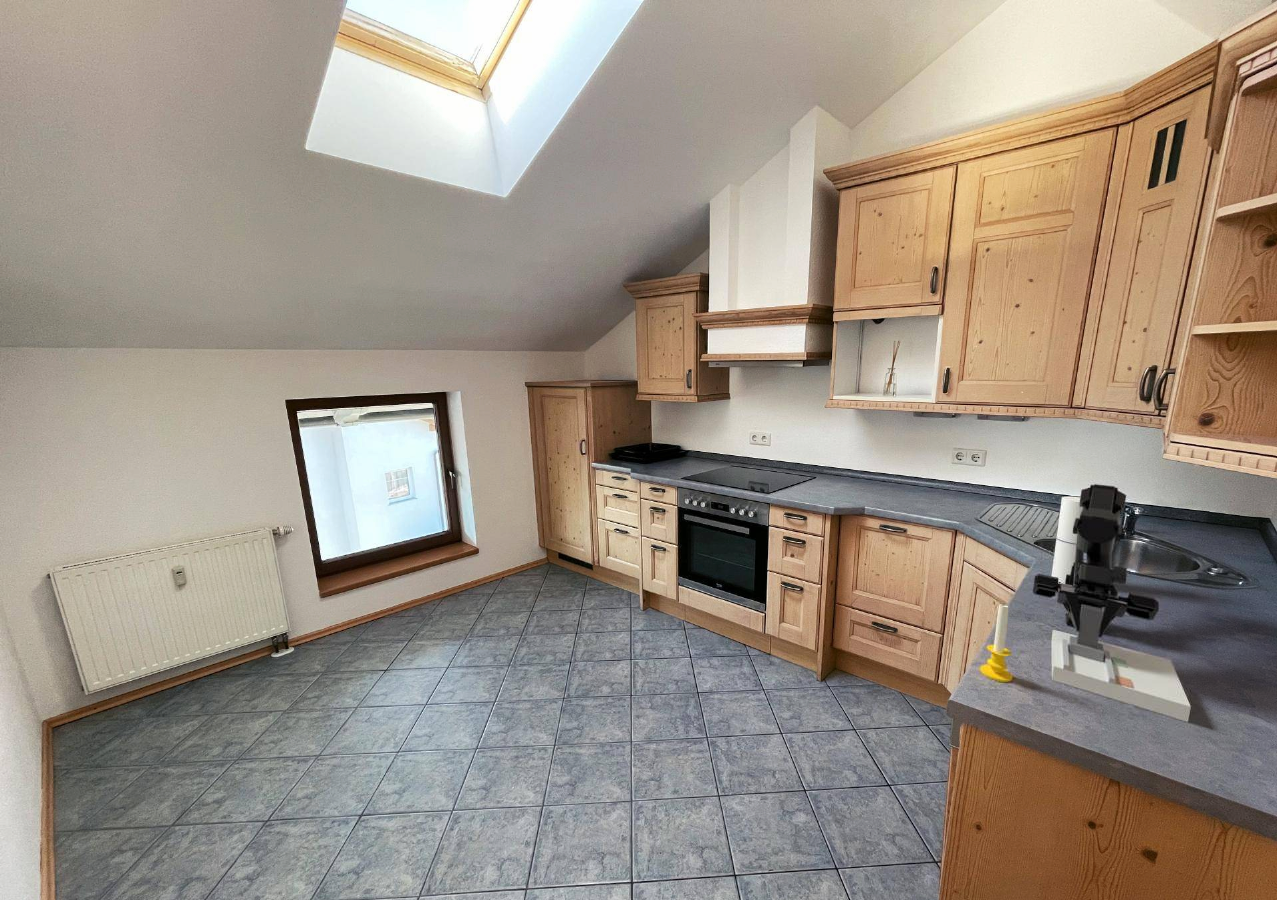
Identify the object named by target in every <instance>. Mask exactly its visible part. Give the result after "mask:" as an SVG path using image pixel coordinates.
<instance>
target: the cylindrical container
mask: <svg viewBox="0 0 1277 900" xmlns="http://www.w3.org/2000/svg"><path fill="white" fill-rule="evenodd" d="M1080 497H1081V496H1080ZM1080 497H1079V496H1062V497H1061V502H1060V511H1059V518H1058V523H1057V524H1058V525H1057V531H1056V539H1055V540H1056V541H1055V548H1054V555H1053V561H1052V571H1051V576H1052V577H1057V578H1058V582H1061V583H1063V584H1065V580H1066V575H1067V574H1068V575H1070V574H1071V569H1072V566H1073V564H1074V562H1075V555H1076V545H1077V534H1073V526H1074V522H1075V519H1076V518H1080V514H1081V511H1082V509H1083V507H1080Z"/></svg>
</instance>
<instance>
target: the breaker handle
mask: <svg viewBox="0 0 1277 900" xmlns="http://www.w3.org/2000/svg"><path fill="white" fill-rule="evenodd" d="M1102 614H1103V610H1102V609H1101V608H1096V607H1092V606H1087V605H1083V604H1082V605H1081V612H1080V629H1079V632H1077V633H1076V636H1077V638H1076V637H1072V636H1070V639H1069V653H1072V654H1076V655H1079V656H1083V657H1087V658H1090V659H1094V660H1097V661H1101V662H1103V658H1104V649H1103V644H1099V643H1098V641H1099V638H1100V637H1099V632H1100V626H1101V619H1102Z"/></svg>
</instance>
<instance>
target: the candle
mask: <svg viewBox="0 0 1277 900" xmlns="http://www.w3.org/2000/svg"><path fill="white" fill-rule="evenodd" d="M996 618H997V619H996V626H995V635H994V641H993V644H989V645H988V644H987V646H986V648H987V650H988V651H989V652H991V654H990V658H988V659H987V662H986V663H985V664H982V665H981V666H980V669H979V670H980V672H981V673H982V675H984V676H985V677H987V678H989V679H991V680H992V681H997V682H1002V683H1010V682H1011V681H1012V680H1013V675H1012V673H1010V672H1009V671H1008V670H1007V669H1008V665H1007V663H1006V662H1005V661H1006V658H1005V657H1008V656H1011V655H1012V652H1011V651H1010V650H1009V649H1008V648H1006V647H1005V645H1006V640H1007V639H1006V637H1007V631H1008V630H1007V628H1008V619H1009V606H1008V605H1005V604H999V605H998V611H997V617H996Z"/></svg>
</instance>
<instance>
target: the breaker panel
mask: <svg viewBox="0 0 1277 900" xmlns="http://www.w3.org/2000/svg"><path fill="white" fill-rule="evenodd" d="M1070 636H1072V637H1076V638H1077V634H1076V635H1075V634H1072V633H1067V632H1064V631H1061V630H1060V631H1059V630H1056V629H1052V635H1051V641H1050V643H1051V644H1050V645H1051V680H1052V681H1055V682H1057V683H1061V684H1064V685H1066V686H1070V687H1072V688H1073V687H1074V688H1076V689H1079V690H1083V691H1086V692H1090V693H1093V694H1096V695H1099V696H1102V697H1105V698H1109V699H1112V700H1115V701H1118V702H1121V703H1125V704H1128V705H1131V706H1134V707H1138V708H1141V709H1145V710H1148V711H1151V712H1153V713H1157V714H1161V715H1164V716H1167V717H1170V718H1174V719H1175V720H1180V721H1183V722H1187V723H1188V722H1189V717H1190V712H1191V704H1190V702H1189V699H1188V697H1187V694H1186V693H1185V690H1184V688H1183V685H1182V683H1181V681H1180V679H1179V676H1178V674H1177V672H1176V669H1175V667H1174V665H1173V662H1172V661H1171V659H1168V658H1165V657H1160V656H1158V655H1153V654H1149V653H1147V652H1146V653H1145V652H1142V651H1137V650H1133V649H1130V648H1125V647H1122V646H1118V645H1113V644H1111V643H1106V642H1102V641H1099V640H1098V643H1099V644H1103V649H1104V658H1103V662H1101V661H1097V660H1094V659H1090V658H1087V657H1083V656H1079V655H1076V654H1072V653H1069V639H1070Z"/></svg>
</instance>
